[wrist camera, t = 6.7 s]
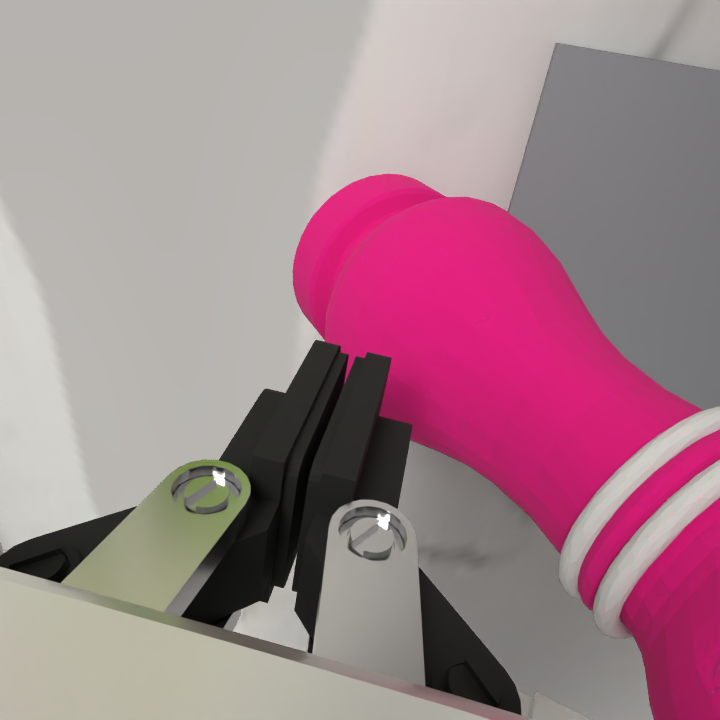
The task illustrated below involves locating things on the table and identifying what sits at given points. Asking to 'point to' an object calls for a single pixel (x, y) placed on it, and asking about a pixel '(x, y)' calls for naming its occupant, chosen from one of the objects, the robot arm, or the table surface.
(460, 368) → the pepper mill
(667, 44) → the table surface
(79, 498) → the table surface
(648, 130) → the mat
